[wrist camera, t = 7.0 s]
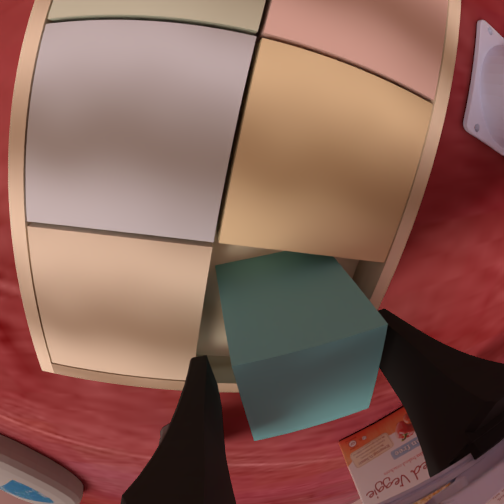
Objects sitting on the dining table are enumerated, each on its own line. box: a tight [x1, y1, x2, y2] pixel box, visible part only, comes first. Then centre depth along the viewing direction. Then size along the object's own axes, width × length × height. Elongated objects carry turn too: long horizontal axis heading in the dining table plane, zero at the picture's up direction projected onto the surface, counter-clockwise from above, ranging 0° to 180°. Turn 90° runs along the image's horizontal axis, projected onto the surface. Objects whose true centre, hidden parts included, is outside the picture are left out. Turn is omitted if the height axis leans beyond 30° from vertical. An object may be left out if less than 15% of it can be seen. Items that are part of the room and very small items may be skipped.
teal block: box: [215, 251, 388, 441], centre depth 13 cm, size 5×5×6 cm
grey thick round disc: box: [0, 434, 83, 504], centre depth 21 cm, size 18×18×5 cm
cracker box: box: [339, 407, 504, 504], centre depth 18 cm, size 14×6×21 cm, turn 118°
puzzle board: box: [8, 0, 461, 392], centre depth 11 cm, size 24×16×3 cm
